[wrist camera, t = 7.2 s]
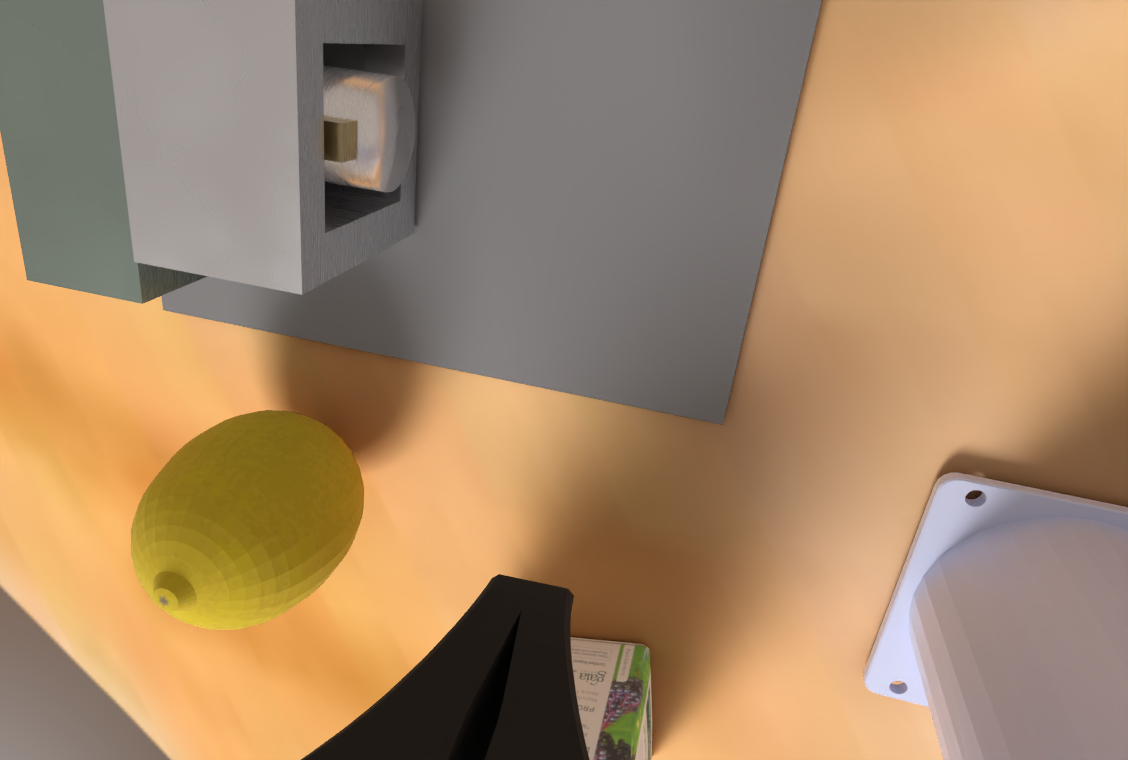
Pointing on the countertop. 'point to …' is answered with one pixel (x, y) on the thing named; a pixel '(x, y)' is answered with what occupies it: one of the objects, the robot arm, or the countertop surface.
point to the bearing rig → (93, 154)
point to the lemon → (247, 520)
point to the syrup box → (614, 698)
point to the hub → (252, 134)
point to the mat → (574, 200)
